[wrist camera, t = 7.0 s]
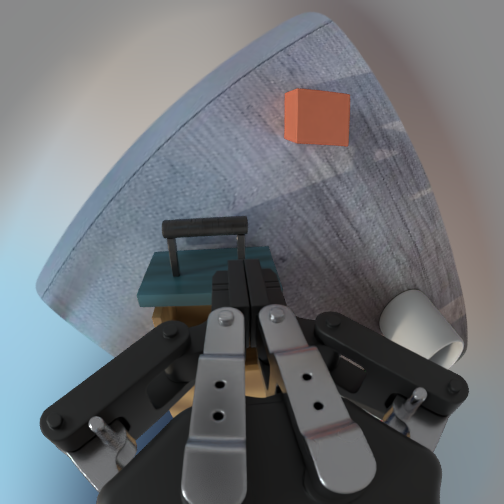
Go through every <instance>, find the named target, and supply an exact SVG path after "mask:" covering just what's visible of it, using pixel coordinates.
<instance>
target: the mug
mask: <svg viewBox="0 0 504 504" xmlns="http://www.w3.org/2000/svg"><path fill="white" fill-rule="evenodd" d="M379 326H380V329H381V331H382V333H383V335H384V336H385V337H386V338H388V339H390V340H392V341H393V342H395V343H397V344H399V345H401V346H403V347H405V348H407V349H409V350H411V351H413V352H415V353H417V354H419V355H421V356H422V357H424V358H426V359H428V360H430V361H432V362H434V363H436V364H438V365H440V366H442V367H444V368H446V369H448V370H449V369H450V368H451V367H452V366H453V364H454V363H455V362H456V361H457V359H458V358H459V357H460V355H461V353H462V351H463V348H464V342H463V340H462V339H461V337H460V336H459V335H458V334H457V332H456V331H455V330H454V329H453V327H452V326H451V325H450V324H449V322H448V321H447V320H446V319H445V318H444V317H443V315H442V314H441V313H440V312H439V311H438V309H437V308H436V307H435V306H434V305H433V304H432V302H431V301H430V300H429V299H428V297H427V296H426V295H425V294H424V293H423V292H421V291H420V290H415V289H414V290H408V291H405V292H403V293H401V294H399V295H398V296H396V297H395V298H394V299H393V300H391V301H390V302H389V304H388V305H387V306H386V307H385V309H384V310H383V312H382V314H381V317H380V321H379Z"/></svg>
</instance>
